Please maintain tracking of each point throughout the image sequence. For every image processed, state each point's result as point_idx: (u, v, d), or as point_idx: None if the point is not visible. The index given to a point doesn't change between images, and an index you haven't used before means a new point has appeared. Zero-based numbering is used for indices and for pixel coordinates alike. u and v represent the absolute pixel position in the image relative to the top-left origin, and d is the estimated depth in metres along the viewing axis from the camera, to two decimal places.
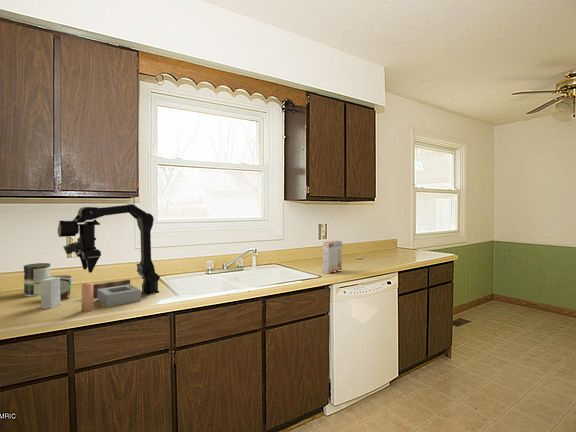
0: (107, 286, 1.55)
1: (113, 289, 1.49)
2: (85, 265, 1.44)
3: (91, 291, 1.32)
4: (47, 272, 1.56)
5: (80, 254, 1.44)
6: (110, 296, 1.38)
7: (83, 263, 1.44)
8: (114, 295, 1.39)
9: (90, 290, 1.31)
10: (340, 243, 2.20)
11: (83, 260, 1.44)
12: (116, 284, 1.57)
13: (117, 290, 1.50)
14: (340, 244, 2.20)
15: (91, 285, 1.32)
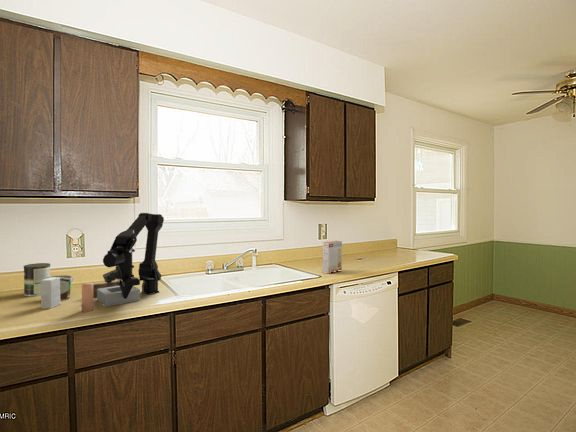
0: (107, 286, 1.55)
1: (112, 289, 1.50)
2: None
3: (91, 291, 1.32)
4: (47, 272, 1.56)
5: (120, 283, 1.41)
6: (109, 296, 1.39)
7: None
8: (113, 295, 1.40)
9: (90, 290, 1.31)
10: (340, 243, 2.20)
11: None
12: (116, 284, 1.57)
13: (116, 290, 1.51)
14: (340, 244, 2.20)
15: (91, 285, 1.32)
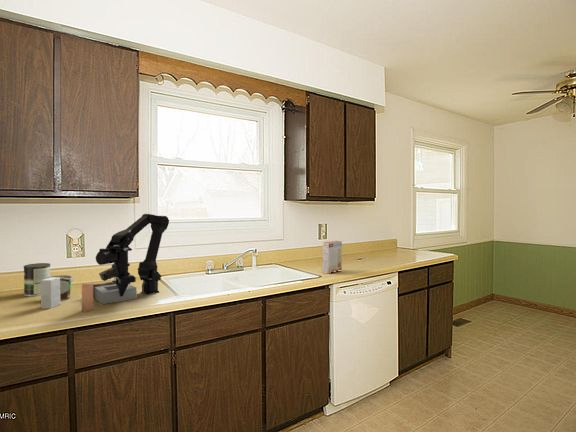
0: None
1: (109, 287, 1.53)
2: (122, 292, 1.45)
3: (91, 291, 1.32)
4: (47, 272, 1.56)
5: (117, 281, 1.44)
6: (106, 294, 1.42)
7: None
8: (110, 293, 1.43)
9: (90, 290, 1.31)
10: (340, 243, 2.20)
11: None
12: None
13: (113, 288, 1.54)
14: (340, 244, 2.20)
15: (91, 285, 1.32)
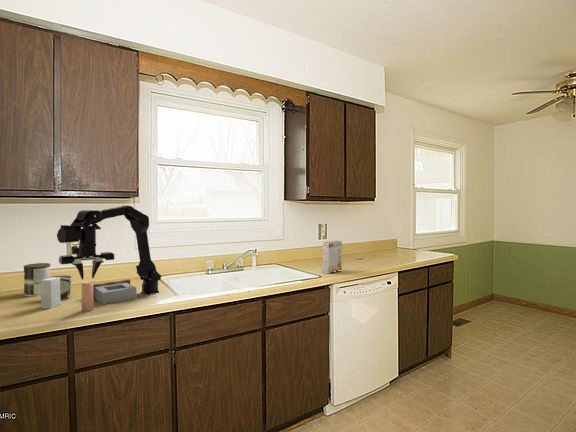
0: None
1: (109, 287, 1.53)
2: (92, 274, 1.33)
3: (91, 291, 1.32)
4: (47, 272, 1.56)
5: (93, 261, 1.35)
6: (106, 294, 1.42)
7: (92, 271, 1.34)
8: (110, 293, 1.43)
9: (90, 290, 1.31)
10: (340, 243, 2.20)
11: (92, 268, 1.34)
12: None
13: (113, 288, 1.54)
14: (340, 244, 2.20)
15: (91, 285, 1.32)
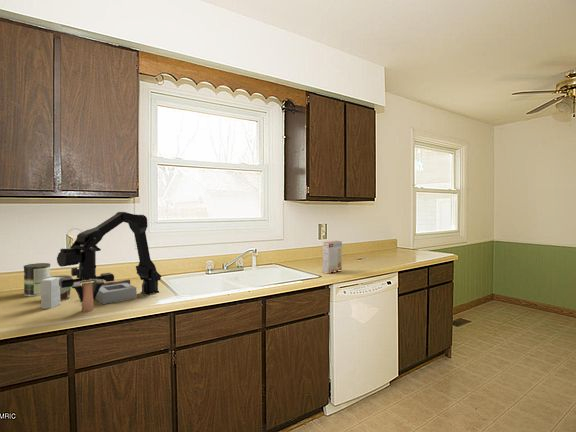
0: None
1: (109, 287, 1.53)
2: (93, 295, 1.34)
3: (91, 291, 1.32)
4: (47, 272, 1.56)
5: (94, 282, 1.35)
6: (106, 294, 1.42)
7: (93, 292, 1.34)
8: (110, 293, 1.43)
9: (90, 290, 1.31)
10: (340, 243, 2.20)
11: (93, 289, 1.34)
12: None
13: (113, 288, 1.54)
14: (340, 244, 2.20)
15: (91, 285, 1.32)
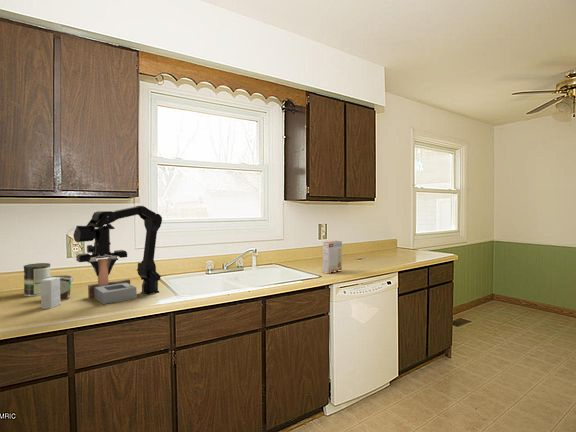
0: None
1: (109, 287, 1.53)
2: (108, 270, 1.43)
3: (106, 266, 1.41)
4: (47, 272, 1.56)
5: (108, 258, 1.44)
6: (106, 294, 1.42)
7: None
8: (110, 293, 1.43)
9: (105, 265, 1.40)
10: (340, 243, 2.20)
11: (108, 265, 1.43)
12: None
13: (113, 288, 1.54)
14: (340, 244, 2.20)
15: (106, 261, 1.41)
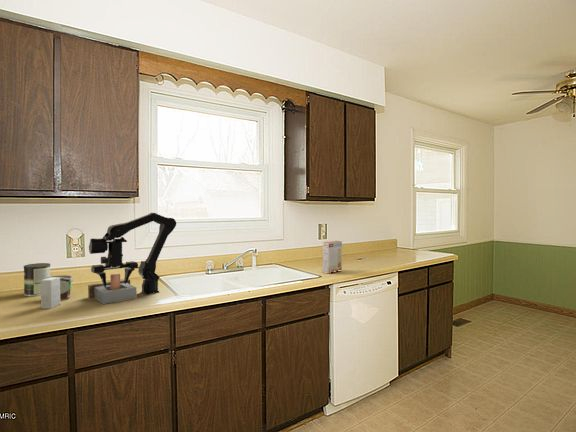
0: None
1: (109, 287, 1.53)
2: (125, 280, 1.53)
3: (118, 281, 1.50)
4: (47, 272, 1.56)
5: (125, 268, 1.55)
6: (106, 294, 1.42)
7: None
8: (110, 293, 1.43)
9: (118, 280, 1.50)
10: (340, 243, 2.20)
11: (125, 275, 1.54)
12: None
13: None
14: (340, 244, 2.20)
15: (118, 276, 1.50)
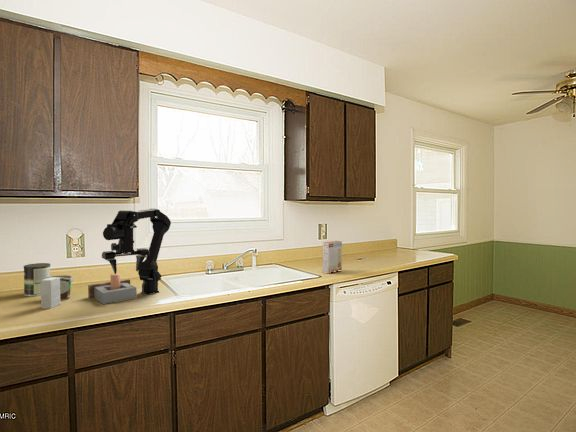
0: None
1: (109, 287, 1.53)
2: (136, 267, 1.49)
3: (118, 281, 1.50)
4: (47, 272, 1.56)
5: (137, 256, 1.50)
6: (106, 294, 1.42)
7: (136, 265, 1.49)
8: (110, 293, 1.43)
9: (118, 280, 1.50)
10: (340, 243, 2.20)
11: (136, 262, 1.49)
12: None
13: None
14: (340, 244, 2.20)
15: (118, 276, 1.50)
